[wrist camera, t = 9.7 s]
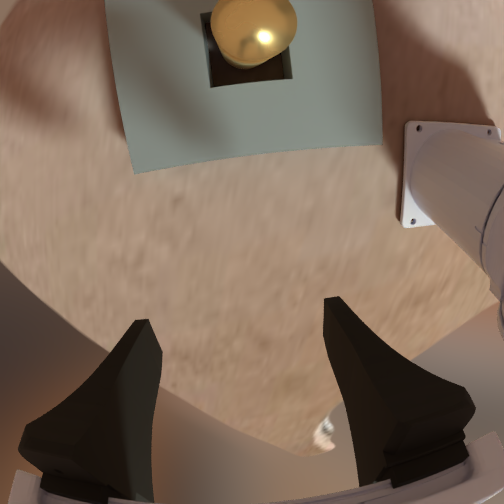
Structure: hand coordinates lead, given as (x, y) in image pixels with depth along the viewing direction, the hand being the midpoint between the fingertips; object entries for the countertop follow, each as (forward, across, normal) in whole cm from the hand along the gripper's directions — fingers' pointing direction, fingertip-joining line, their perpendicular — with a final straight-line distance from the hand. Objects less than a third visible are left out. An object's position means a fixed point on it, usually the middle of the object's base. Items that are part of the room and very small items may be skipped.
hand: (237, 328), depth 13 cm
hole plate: (+10, -2, -11) cm, 15 cm away
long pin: (+10, -2, -11) cm, 15 cm away
